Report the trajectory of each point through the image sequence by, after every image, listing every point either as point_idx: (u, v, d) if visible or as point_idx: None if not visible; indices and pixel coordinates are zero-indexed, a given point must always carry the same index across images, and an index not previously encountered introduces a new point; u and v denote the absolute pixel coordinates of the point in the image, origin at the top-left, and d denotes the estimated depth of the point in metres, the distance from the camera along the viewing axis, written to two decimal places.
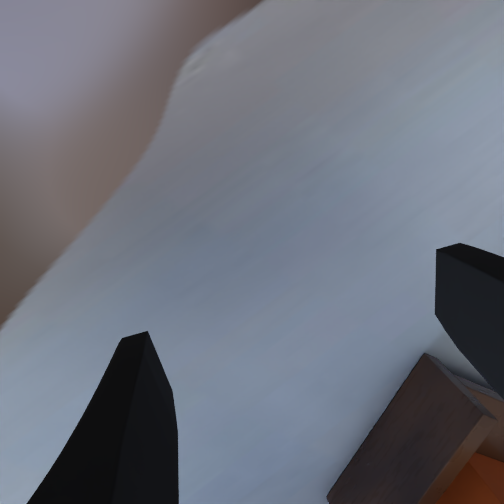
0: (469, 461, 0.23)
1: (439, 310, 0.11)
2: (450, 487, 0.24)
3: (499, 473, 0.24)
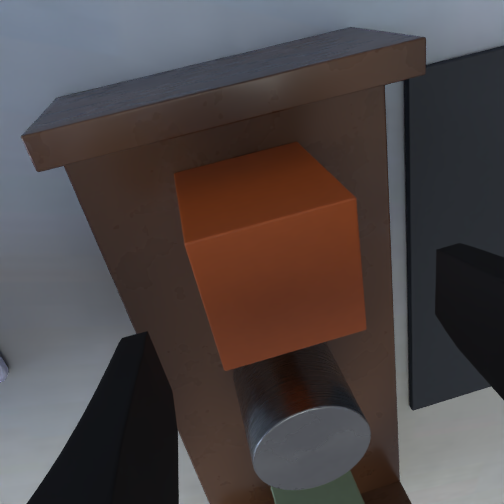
0: None
1: (439, 310, 0.11)
2: (256, 165, 0.14)
3: None
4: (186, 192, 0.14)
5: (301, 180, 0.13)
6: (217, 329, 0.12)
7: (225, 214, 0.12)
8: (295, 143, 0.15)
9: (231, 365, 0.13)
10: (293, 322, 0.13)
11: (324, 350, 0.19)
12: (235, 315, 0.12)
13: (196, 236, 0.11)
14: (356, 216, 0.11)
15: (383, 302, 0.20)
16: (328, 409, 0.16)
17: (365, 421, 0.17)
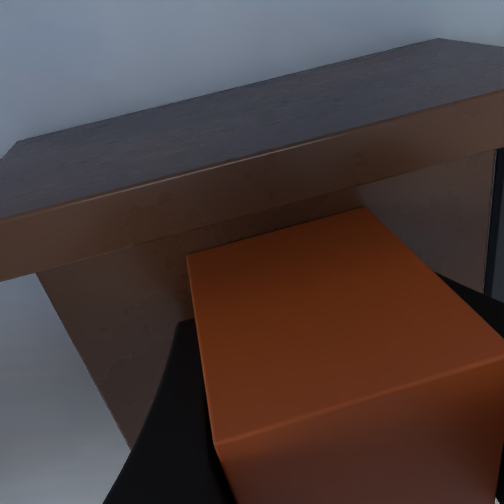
0: None
1: None
2: (313, 250, 0.09)
3: None
4: (207, 302, 0.09)
5: (396, 294, 0.08)
6: None
7: (279, 366, 0.07)
8: (364, 210, 0.10)
9: None
10: None
11: None
12: None
13: (234, 425, 0.06)
14: None
15: None
16: None
17: None
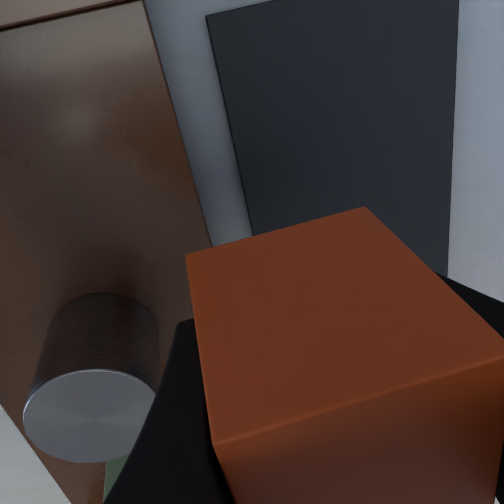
0: None
1: None
2: (312, 250, 0.09)
3: None
4: (206, 302, 0.09)
5: (396, 294, 0.08)
6: None
7: (278, 366, 0.07)
8: (363, 209, 0.10)
9: None
10: None
11: (133, 316, 0.18)
12: None
13: (233, 425, 0.06)
14: None
15: None
16: (96, 373, 0.15)
17: (147, 387, 0.15)
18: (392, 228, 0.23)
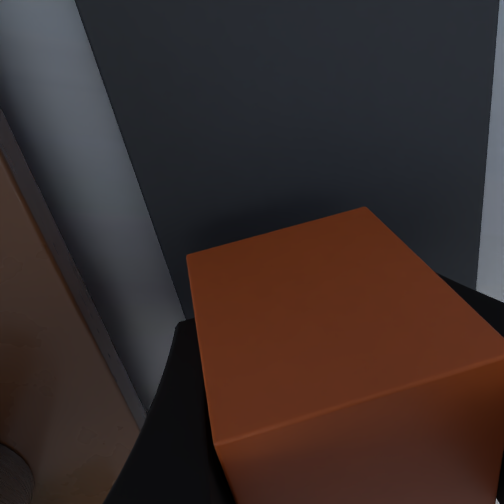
0: None
1: None
2: (313, 250, 0.09)
3: None
4: (207, 302, 0.09)
5: (397, 294, 0.08)
6: None
7: (279, 366, 0.07)
8: (364, 210, 0.10)
9: None
10: None
11: None
12: None
13: (234, 426, 0.06)
14: None
15: (96, 384, 0.12)
16: None
17: None
18: None
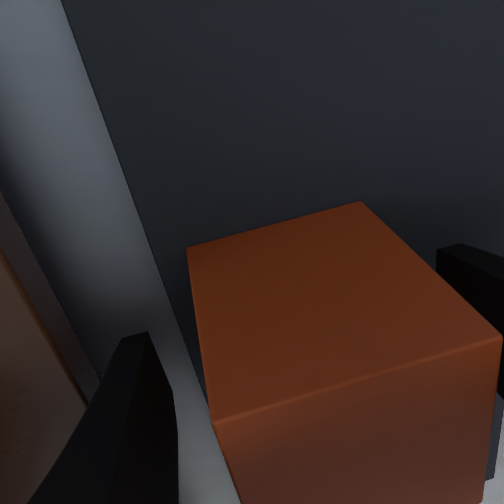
0: None
1: None
2: (309, 242, 0.10)
3: None
4: (206, 292, 0.09)
5: (389, 284, 0.08)
6: None
7: (275, 351, 0.07)
8: (359, 204, 0.11)
9: None
10: None
11: None
12: None
13: (231, 406, 0.06)
14: (498, 363, 0.07)
15: None
16: None
17: None
18: None
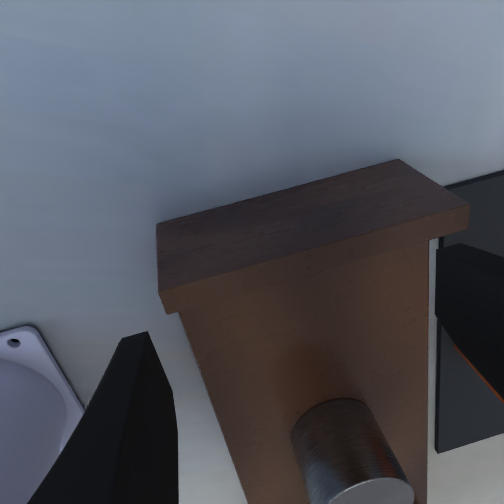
0: None
1: (439, 310, 0.11)
2: None
3: None
4: None
5: None
6: None
7: None
8: None
9: None
10: None
11: (371, 420, 0.22)
12: None
13: None
14: None
15: (420, 375, 0.23)
16: (381, 481, 0.19)
17: (411, 487, 0.20)
18: None
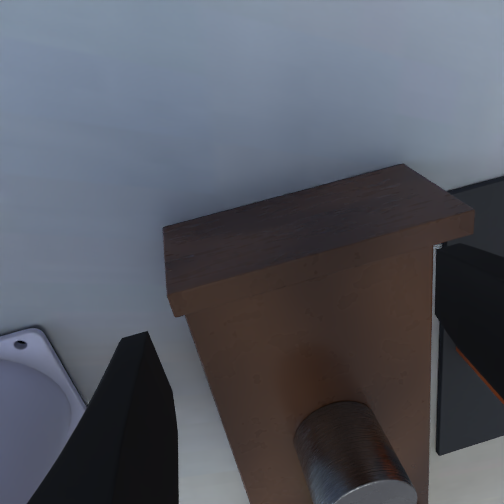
0: None
1: (440, 310, 0.11)
2: None
3: None
4: None
5: None
6: None
7: None
8: None
9: None
10: None
11: (374, 422, 0.22)
12: None
13: None
14: None
15: (422, 378, 0.23)
16: (385, 483, 0.19)
17: (414, 489, 0.20)
18: None
